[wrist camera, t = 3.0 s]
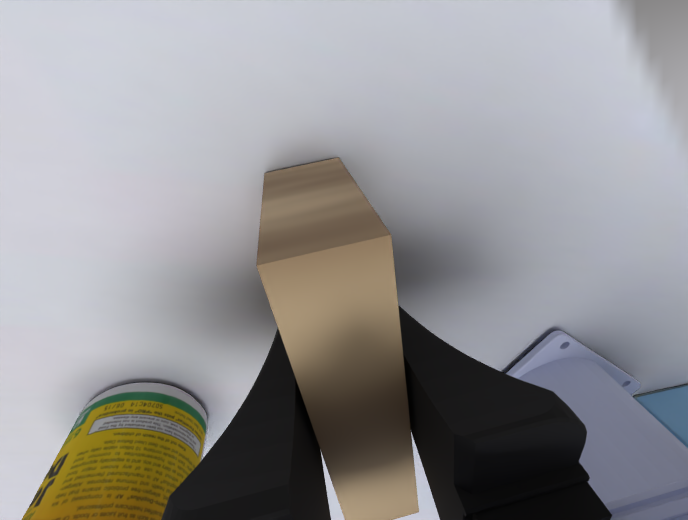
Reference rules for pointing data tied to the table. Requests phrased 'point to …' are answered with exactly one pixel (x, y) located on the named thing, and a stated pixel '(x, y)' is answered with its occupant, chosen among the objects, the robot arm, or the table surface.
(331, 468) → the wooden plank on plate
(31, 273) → the table surface
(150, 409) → the supplement bottle
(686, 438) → the gum box
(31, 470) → the table surface
